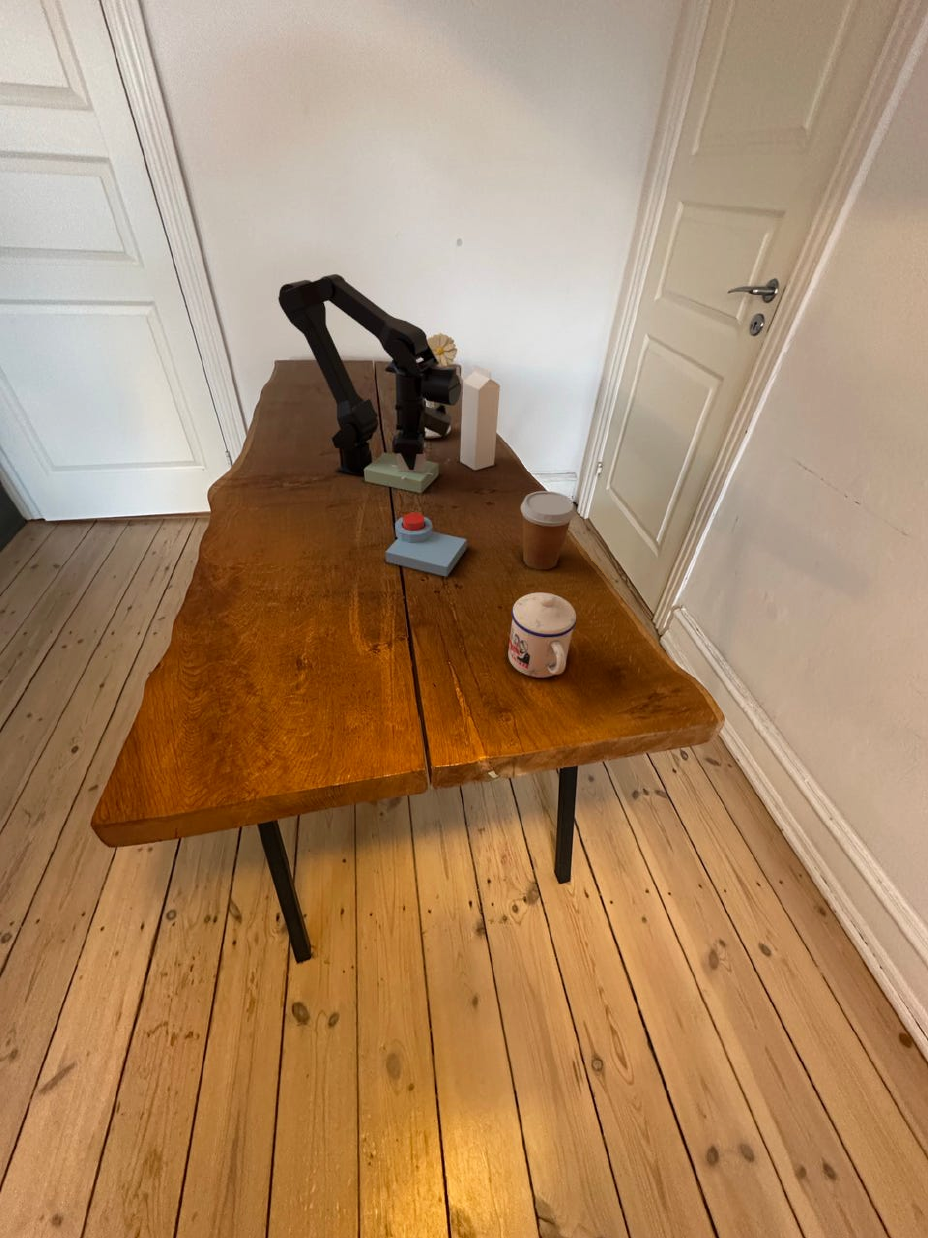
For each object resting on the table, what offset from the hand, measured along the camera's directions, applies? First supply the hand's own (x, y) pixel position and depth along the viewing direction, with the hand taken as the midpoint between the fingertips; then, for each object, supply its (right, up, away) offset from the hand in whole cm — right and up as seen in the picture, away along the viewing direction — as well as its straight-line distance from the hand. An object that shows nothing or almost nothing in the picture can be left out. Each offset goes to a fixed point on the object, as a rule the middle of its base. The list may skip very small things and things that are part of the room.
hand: (411, 468), depth 123 cm
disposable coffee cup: (+26, -23, -20) cm, 40 cm away
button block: (+4, -21, -20) cm, 29 cm away
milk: (+15, +4, +12) cm, 19 cm away
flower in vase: (+3, +16, +24) cm, 29 cm away
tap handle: (0, 0, 0) cm, 0 cm away
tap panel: (-3, -1, +4) cm, 5 cm away
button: (+2, -16, -19) cm, 26 cm away
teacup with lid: (+23, -41, -41) cm, 62 cm away
